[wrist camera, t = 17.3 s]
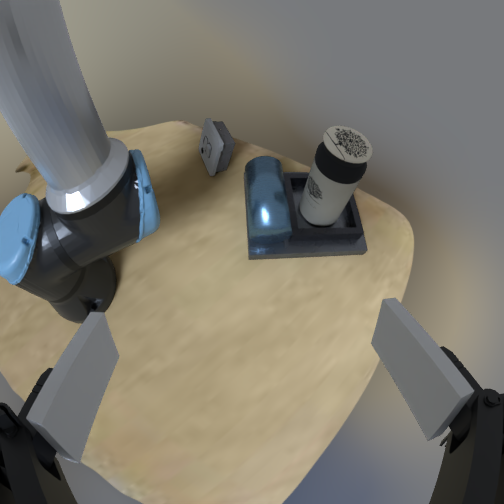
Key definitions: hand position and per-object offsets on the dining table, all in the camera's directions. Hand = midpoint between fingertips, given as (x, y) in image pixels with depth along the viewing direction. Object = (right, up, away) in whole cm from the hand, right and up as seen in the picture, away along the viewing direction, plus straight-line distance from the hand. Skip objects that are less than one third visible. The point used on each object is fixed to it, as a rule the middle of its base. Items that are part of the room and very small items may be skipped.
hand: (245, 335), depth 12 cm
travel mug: (+13, +12, +39) cm, 43 cm away
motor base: (+10, +11, +41) cm, 43 cm away
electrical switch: (-8, +24, +46) cm, 52 cm away
